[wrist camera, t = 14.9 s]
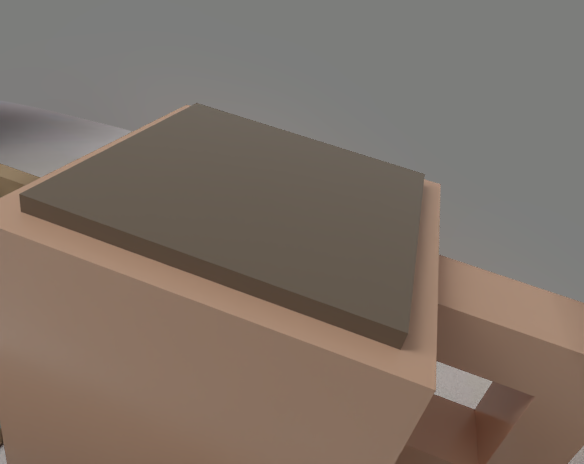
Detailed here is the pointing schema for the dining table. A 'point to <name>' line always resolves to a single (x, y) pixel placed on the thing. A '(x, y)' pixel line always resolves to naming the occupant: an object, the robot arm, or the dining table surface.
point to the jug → (264, 313)
